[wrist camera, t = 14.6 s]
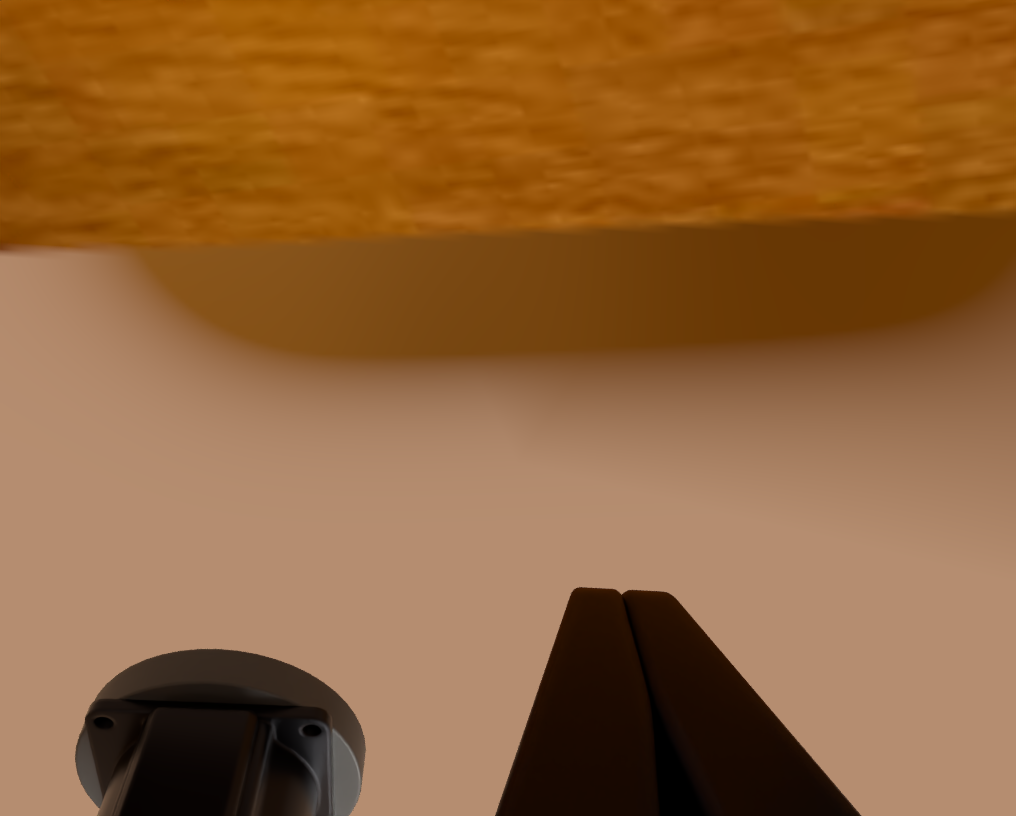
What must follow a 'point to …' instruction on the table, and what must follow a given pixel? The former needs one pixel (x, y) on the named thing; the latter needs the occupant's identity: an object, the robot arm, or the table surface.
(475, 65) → the table surface
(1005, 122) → the table surface
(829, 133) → the table surface
